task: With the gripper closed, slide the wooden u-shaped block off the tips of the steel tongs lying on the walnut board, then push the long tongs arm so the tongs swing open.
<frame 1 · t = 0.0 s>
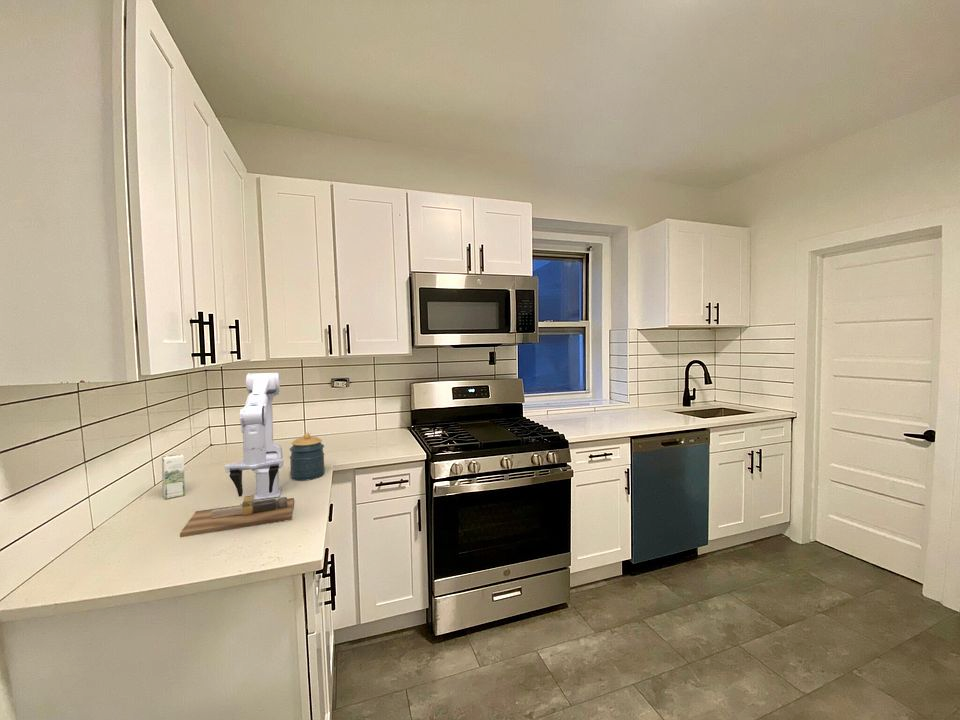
hand: (255, 493, 116), 10 cm above the worktop, tool pointing down, fingers open, 7 cm apart
canister: (307, 476, 164), on the worktop
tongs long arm: (244, 509, 124), point 2 cm above the worktop, hinge at 0.0°
syrup box: (174, 496, 143), on the worktop
wooden u-shaped block: (248, 504, 125), point 3 cm above the worktop, slide at 0.0 cm
tong board: (242, 517, 124), on the worktop
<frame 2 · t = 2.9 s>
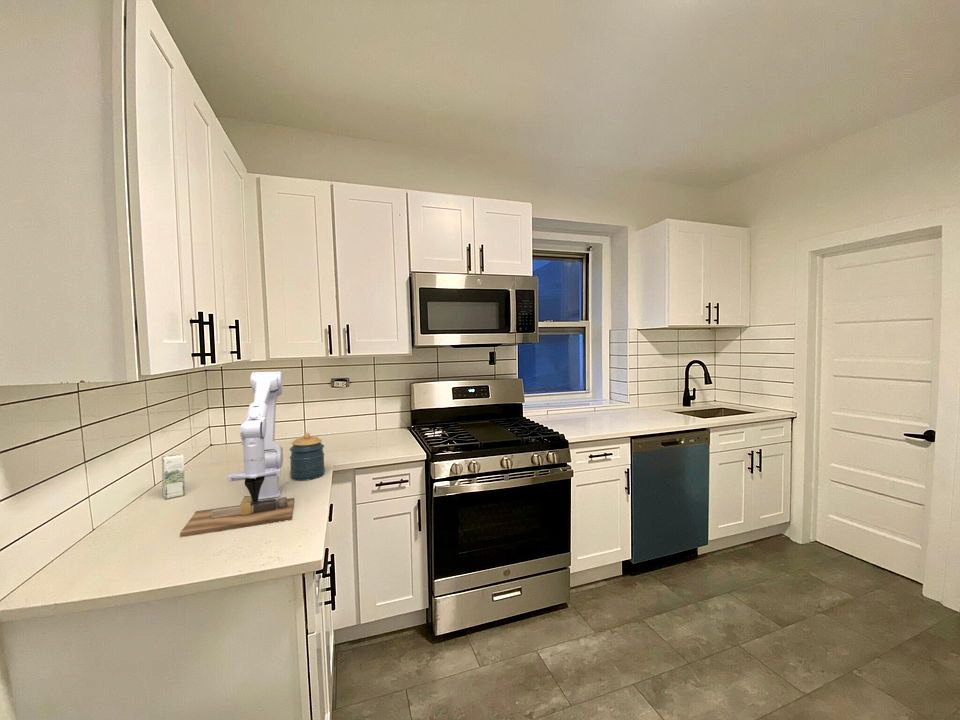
hand: (255, 501, 126), 4 cm above the worktop, tool pointing down, fingers closed
wooden u-shaped block: (247, 505, 125), point 3 cm above the worktop, slide at 0.3 cm, touching gripper
everything else where it was.
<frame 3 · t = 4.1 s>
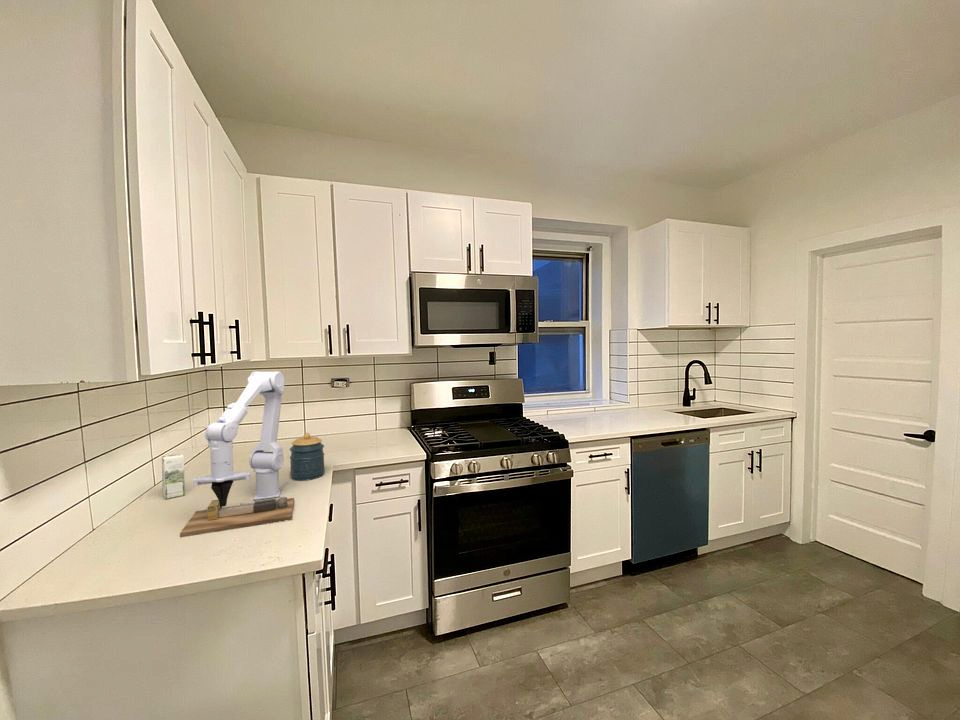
hand: (223, 505, 123), 4 cm above the worktop, tool pointing down, fingers closed
wooden u-shaped block: (214, 509, 122), point 3 cm above the worktop, slide at 9.0 cm, touching gripper
everything else where it was.
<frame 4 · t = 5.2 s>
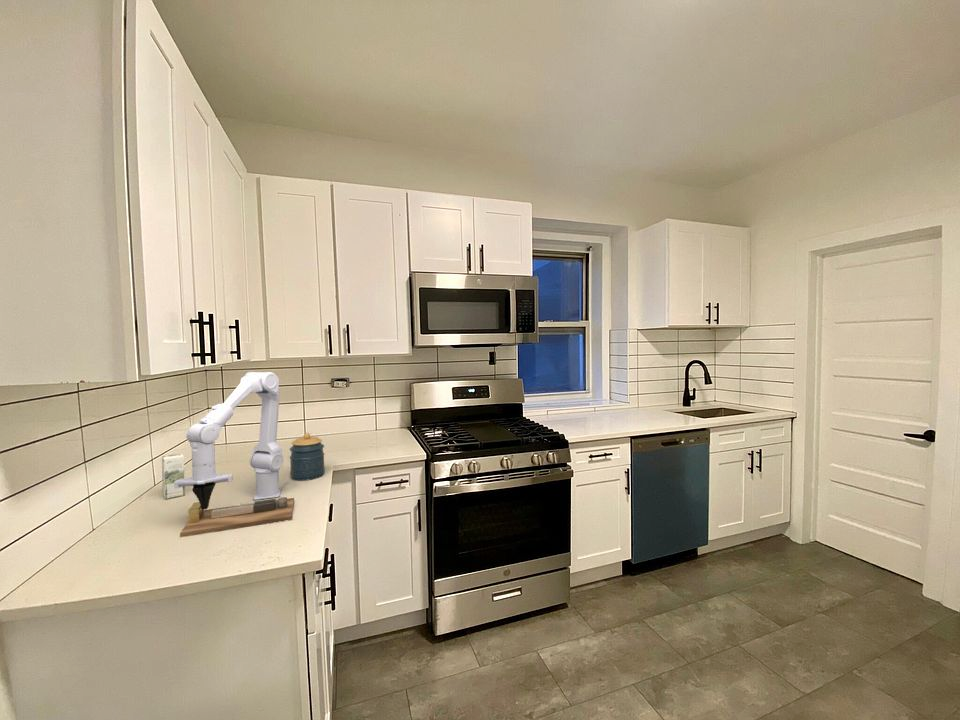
hand: (205, 508, 121), 4 cm above the worktop, tool pointing down, fingers closed
wooden u-shaped block: (196, 512, 120), point 3 cm above the worktop, slide at 13.7 cm, touching gripper
everything else where it was.
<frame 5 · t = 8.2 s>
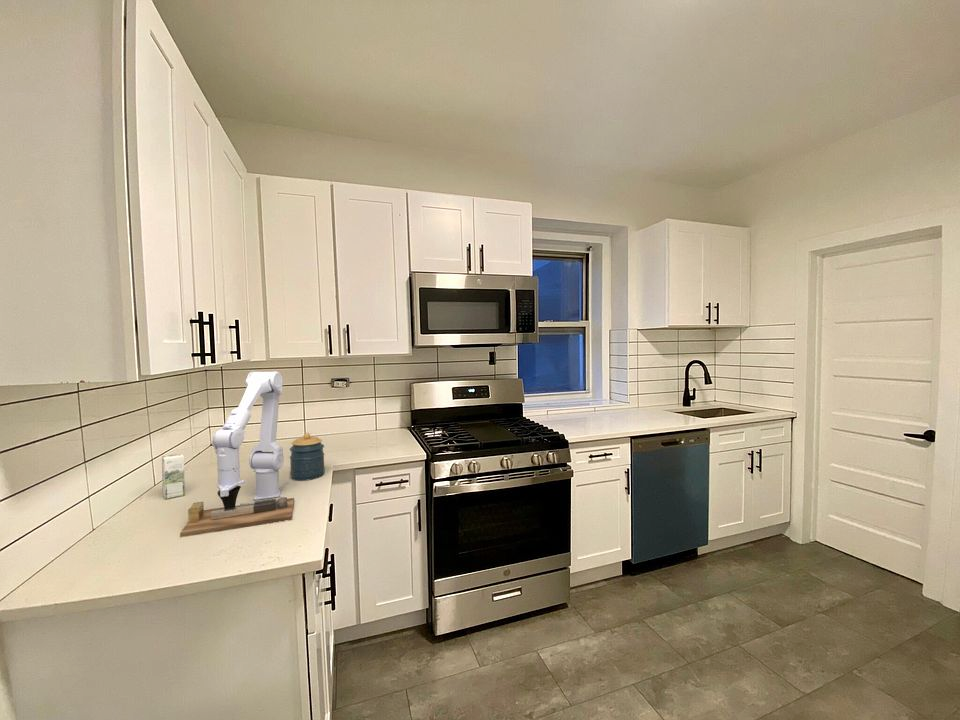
hand: (230, 511, 123), 2 cm above the worktop, tool pointing down, fingers closed
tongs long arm: (244, 510, 123), point 2 cm above the worktop, hinge at 3.0°, touching gripper
wooden u-shaped block: (196, 512, 120), point 3 cm above the worktop, slide at 13.7 cm
everything else where it was.
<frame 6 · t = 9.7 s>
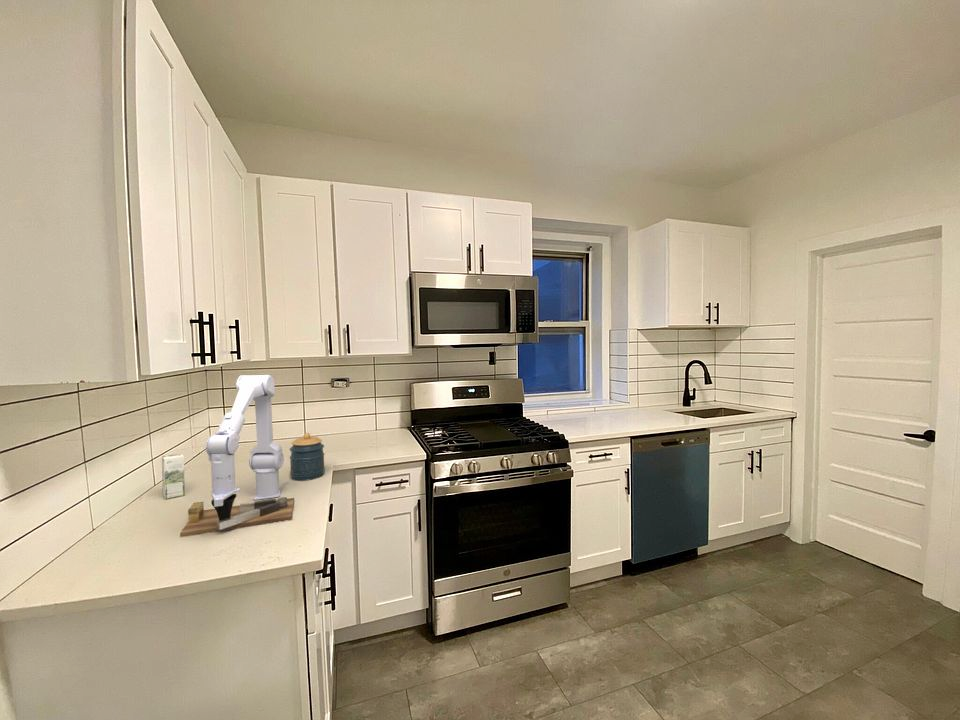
hand: (224, 522, 116), 2 cm above the worktop, tool pointing down, fingers closed
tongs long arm: (249, 515, 120), point 2 cm above the worktop, hinge at 32.3°, touching gripper
everything else where it was.
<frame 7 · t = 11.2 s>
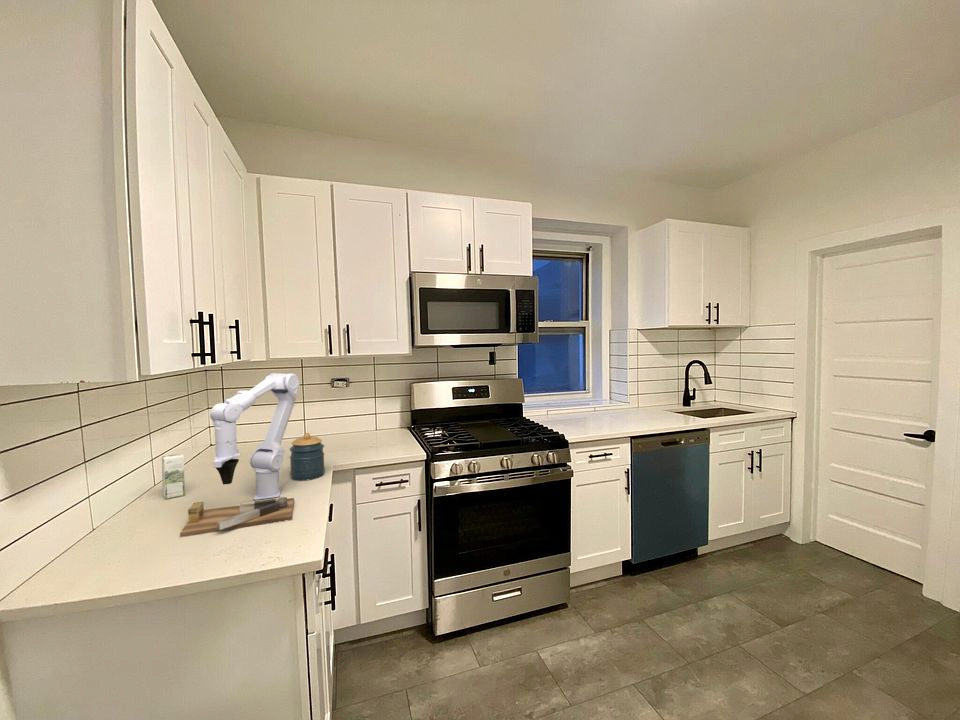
hand: (227, 483, 127), 9 cm above the worktop, tool pointing down, fingers closed
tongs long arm: (250, 515, 120), point 2 cm above the worktop, hinge at 32.5°
everything else where it was.
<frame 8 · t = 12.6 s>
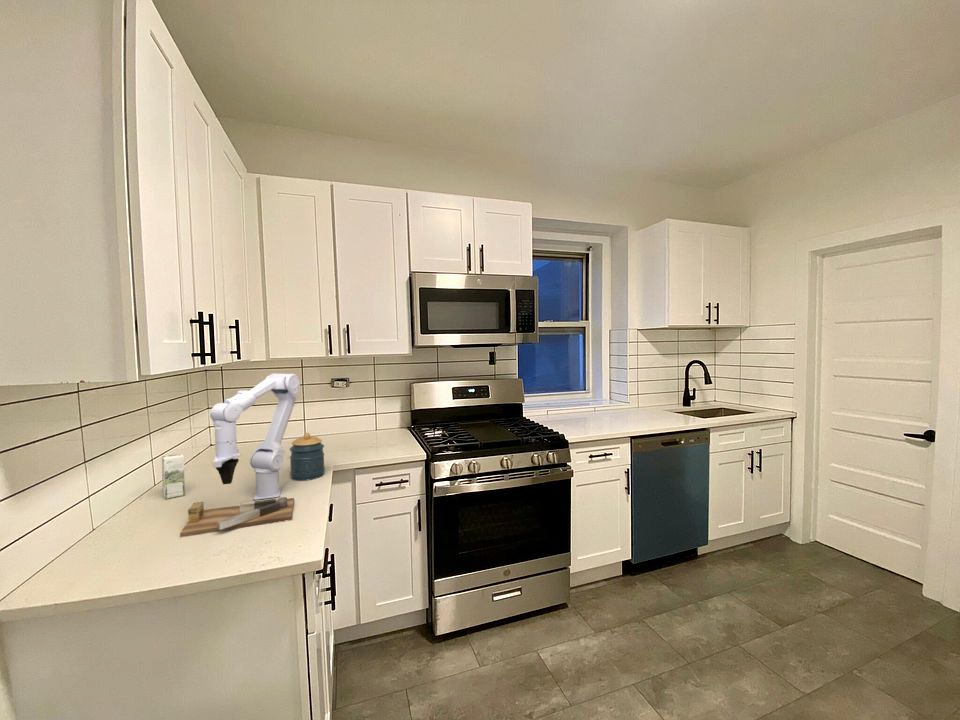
hand: (227, 483, 127), 9 cm above the worktop, tool pointing down, fingers closed
nothing on the worktop moved.
at the end: wooden u-shaped block slide at 13.7 cm; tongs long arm at +32° (first picture: +0°) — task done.
